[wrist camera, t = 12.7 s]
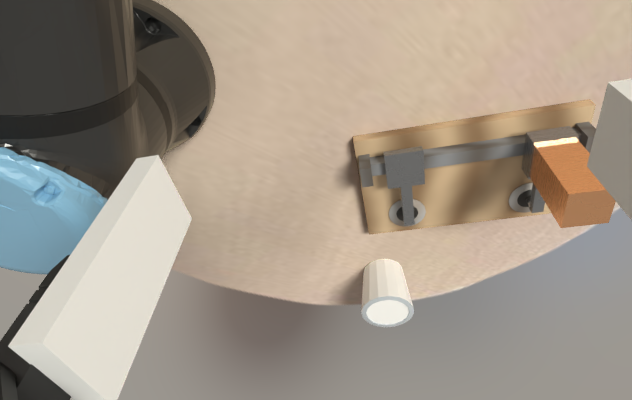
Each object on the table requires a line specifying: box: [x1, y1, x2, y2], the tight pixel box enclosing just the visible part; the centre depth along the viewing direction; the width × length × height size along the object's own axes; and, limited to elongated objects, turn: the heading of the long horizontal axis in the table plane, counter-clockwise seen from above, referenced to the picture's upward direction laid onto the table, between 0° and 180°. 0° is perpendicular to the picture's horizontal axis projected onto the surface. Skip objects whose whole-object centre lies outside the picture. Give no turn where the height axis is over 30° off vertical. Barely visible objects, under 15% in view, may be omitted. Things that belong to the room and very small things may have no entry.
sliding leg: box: [522, 126, 616, 228], centre depth 40 cm, size 4×11×11 cm, turn 12°
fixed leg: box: [383, 146, 425, 226], centre depth 46 cm, size 4×11×2 cm, turn 12°
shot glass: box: [361, 259, 414, 327], centre depth 56 cm, size 7×7×7 cm
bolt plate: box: [353, 100, 596, 234], centre depth 46 cm, size 24×14×4 cm, turn 102°
